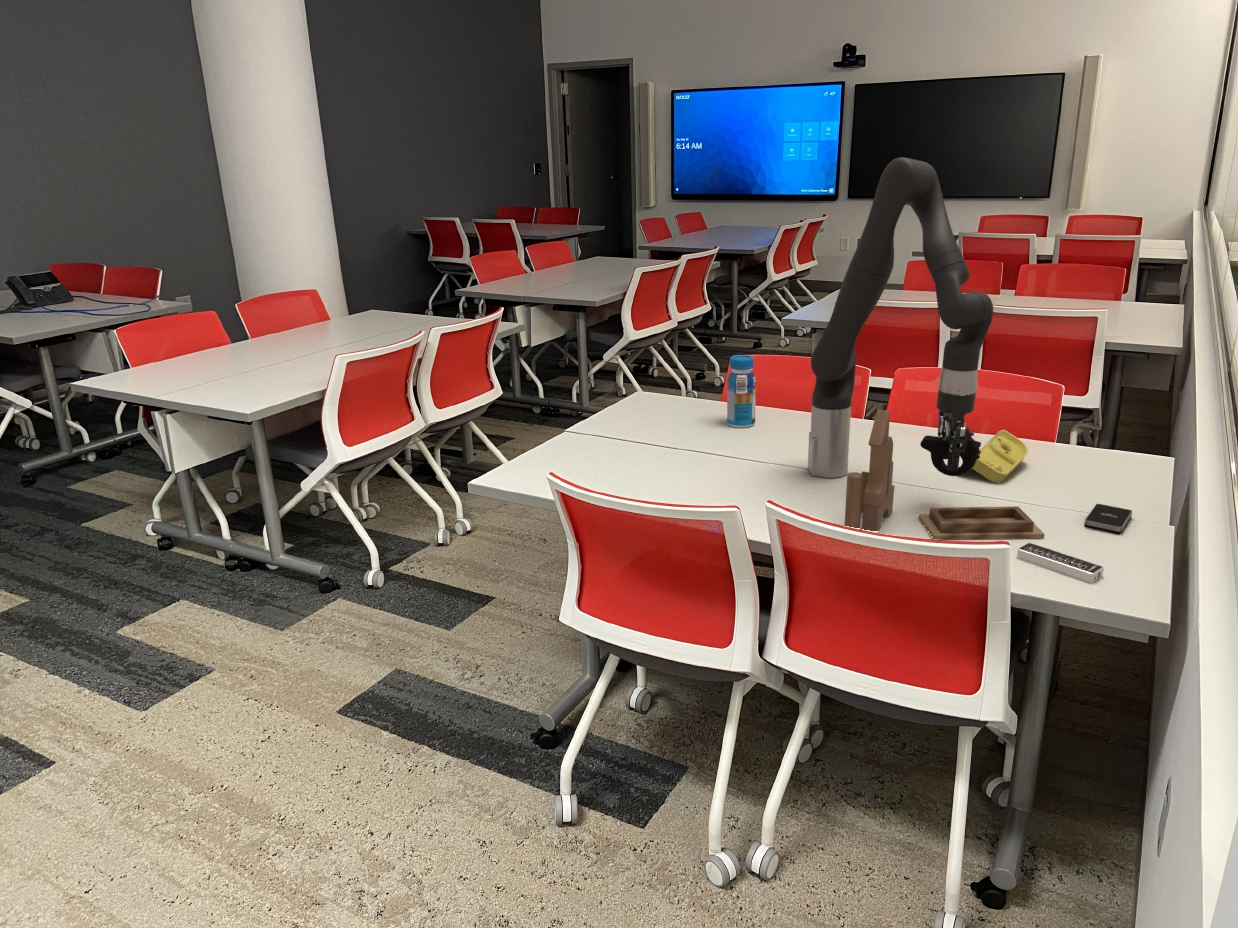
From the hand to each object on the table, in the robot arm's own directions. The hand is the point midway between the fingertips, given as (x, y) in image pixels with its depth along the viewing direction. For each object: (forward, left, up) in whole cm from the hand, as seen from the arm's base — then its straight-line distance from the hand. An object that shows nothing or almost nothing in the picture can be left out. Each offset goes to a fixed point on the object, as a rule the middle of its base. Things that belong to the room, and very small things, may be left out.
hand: (948, 463), depth 192 cm
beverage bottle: (-39, +64, -10) cm, 76 cm away
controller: (0, 0, -3) cm, 3 cm away
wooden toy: (-18, -8, -10) cm, 23 cm away
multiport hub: (+12, -30, -11) cm, 34 cm away
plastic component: (+19, +23, -11) cm, 31 cm away
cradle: (+4, -12, -10) cm, 16 cm away
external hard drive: (+31, -10, -11) cm, 34 cm away
